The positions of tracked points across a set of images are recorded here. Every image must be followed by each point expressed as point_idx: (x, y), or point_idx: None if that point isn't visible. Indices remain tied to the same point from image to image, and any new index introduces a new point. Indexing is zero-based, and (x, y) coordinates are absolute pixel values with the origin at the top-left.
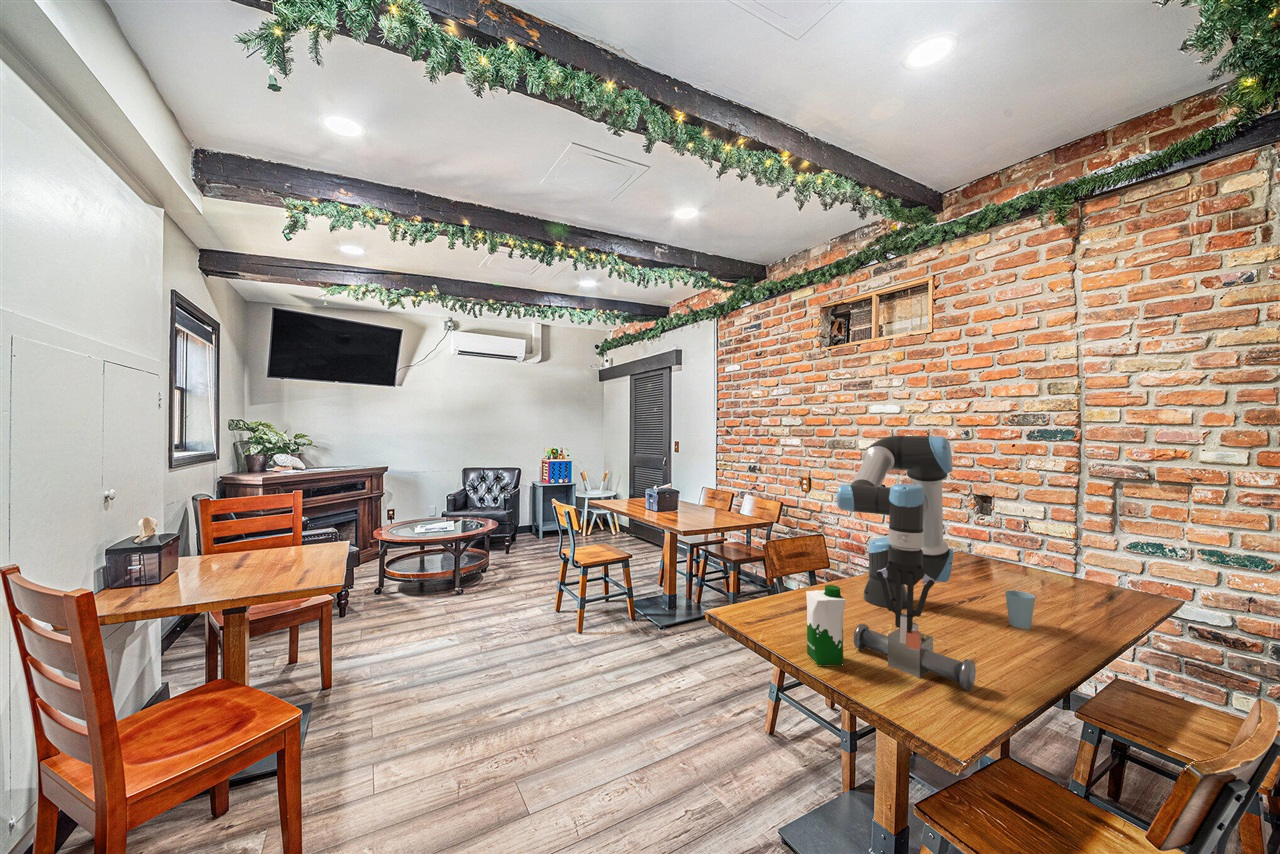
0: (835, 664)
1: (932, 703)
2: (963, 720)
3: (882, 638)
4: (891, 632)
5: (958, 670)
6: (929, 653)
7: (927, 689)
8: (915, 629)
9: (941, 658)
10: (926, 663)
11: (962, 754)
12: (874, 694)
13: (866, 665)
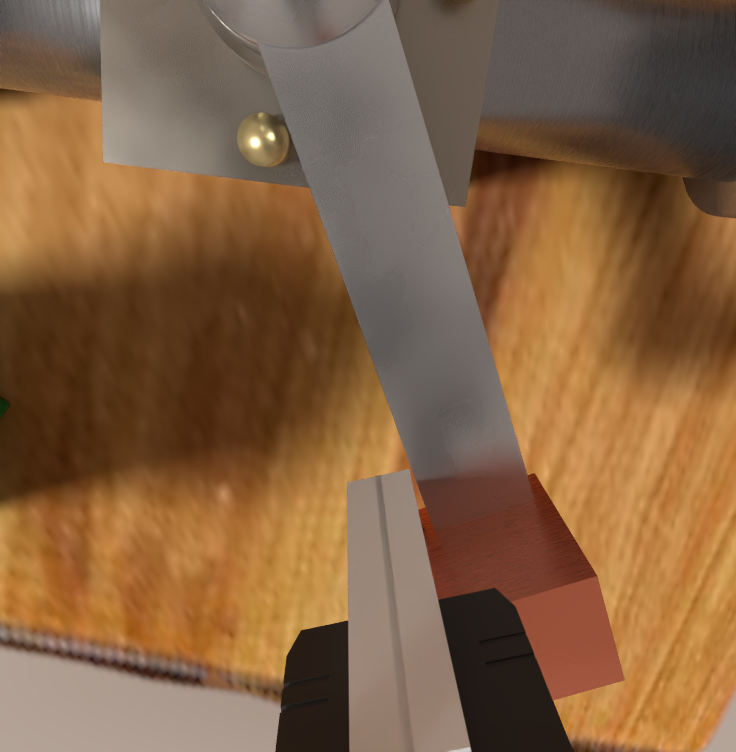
0: None
1: (548, 453)
2: (693, 501)
3: (30, 34)
4: (103, 70)
5: (733, 167)
6: (509, 78)
7: (496, 315)
8: (412, 107)
9: (615, 102)
10: (478, 148)
11: (698, 727)
12: (298, 575)
13: (100, 282)
